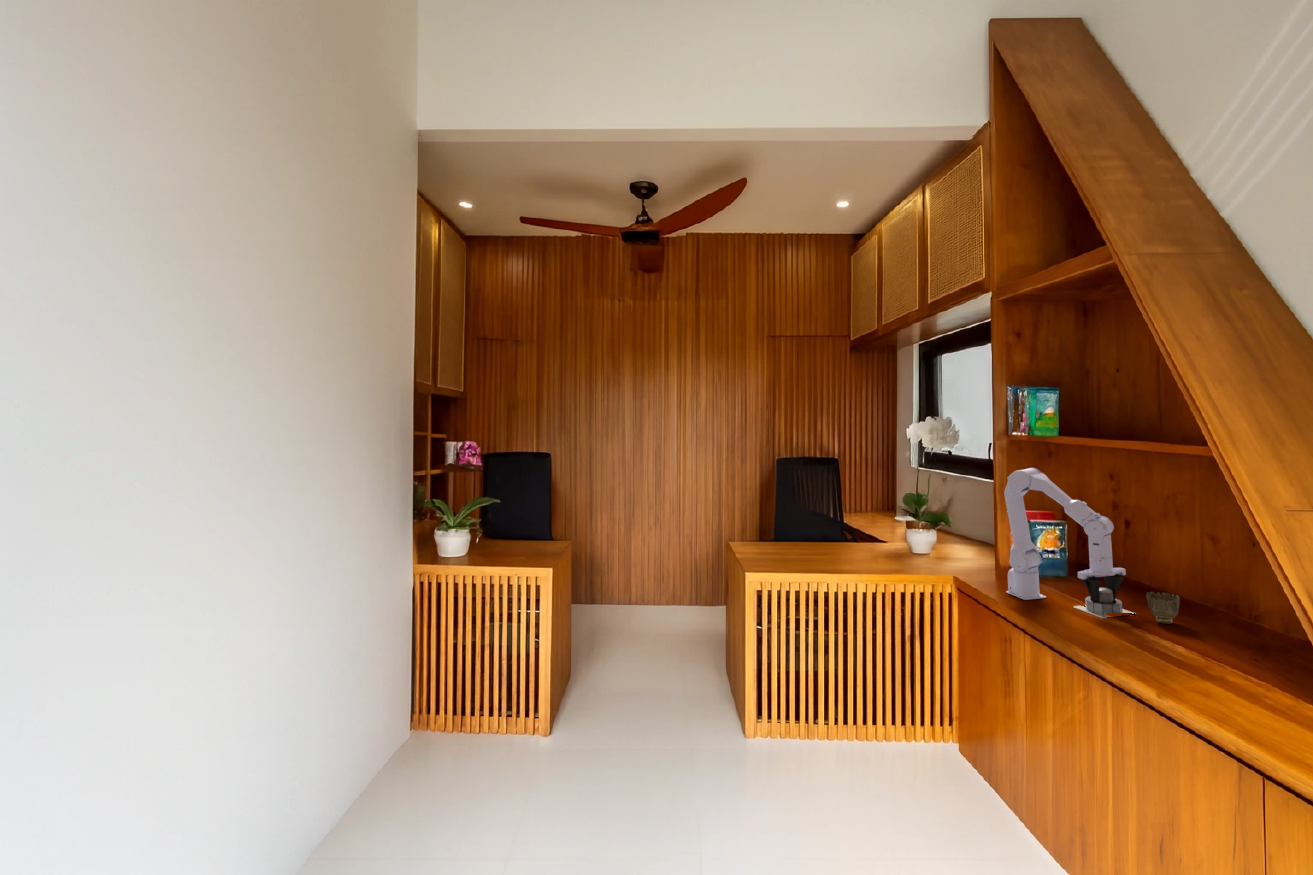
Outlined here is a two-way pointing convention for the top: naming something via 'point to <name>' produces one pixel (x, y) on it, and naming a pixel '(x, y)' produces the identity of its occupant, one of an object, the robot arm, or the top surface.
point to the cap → (1105, 596)
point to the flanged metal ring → (1102, 607)
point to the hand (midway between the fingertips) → (1103, 599)
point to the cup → (1163, 606)
